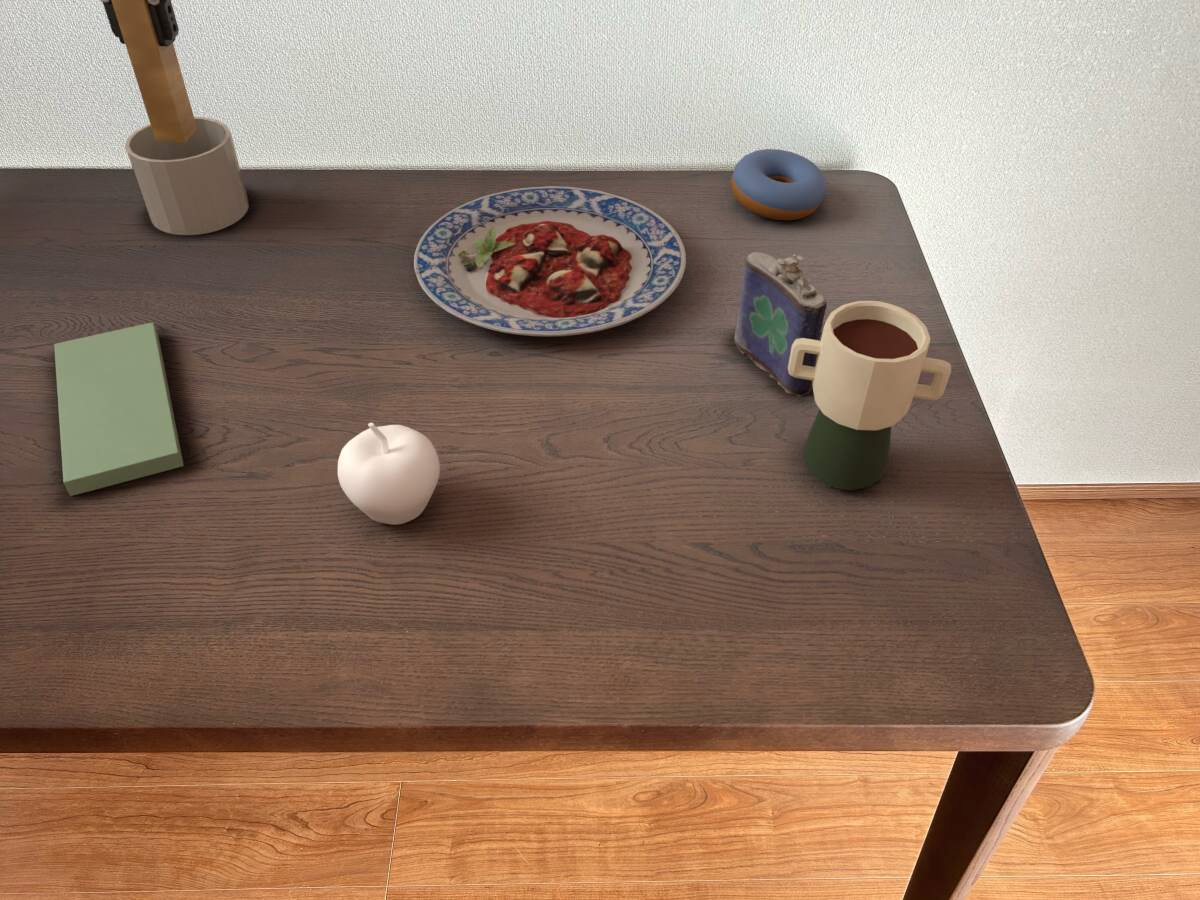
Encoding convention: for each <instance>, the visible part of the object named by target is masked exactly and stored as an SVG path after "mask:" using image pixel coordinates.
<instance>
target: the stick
mask: <svg viewBox="0 0 1200 900" xmlns="http://www.w3.org/2000/svg"><path fill="white" fill-rule="evenodd" d="M111 1H112V4H113V7H114V10H115V13H116V16H117V20H118V23H119V26H120V29H121V32H122V35H123V39H124V42H125V44H124V45H125V48H126V52H127V55H128V57H129V60H130V61H129V62H130V63H131V67H132V70H133V74H134V77H135V80H136V83H137V86H138V89H139V92H140V95H141V97H142V98H141V100H142V101H143V106H144V108H145V111H146V115H147V117H148V121H149V124H151V127H152V131H153V134H154V137H155V140H156V141H161V142H176V143H186V142H187V141H188V140H189V138H190V137H191V136H192V135H193V134H194V133H195V132H196V131H197V126H196V122H195V119H194V117H195V116H194V112H193V108H192V105H191V101H190V97H189V94H188V91H187V87H186V83H185V80H184V77H183V72H182V69H181V66H180V63H179V58H178V55H177V51H176V48H175V46H174V42H173V43H172V44H171V45H170V46H168V47H167V46H160V45H159V43H158V40H157V37H156V33H155V30H154V26H153V23H152V20H151V16H150V13H149V9H148V5H149V4H150V3H149V2H148V1H147V0H111Z"/></svg>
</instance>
